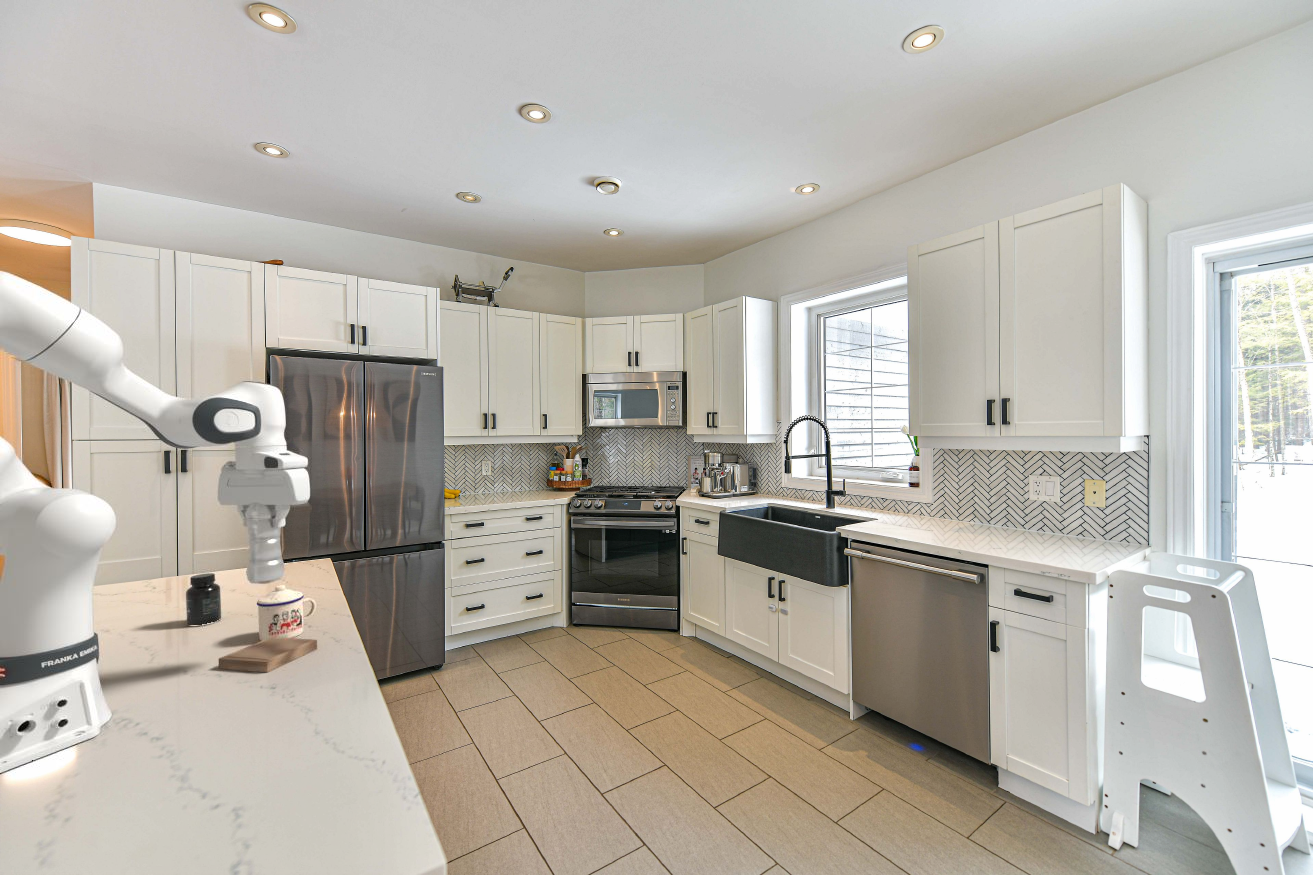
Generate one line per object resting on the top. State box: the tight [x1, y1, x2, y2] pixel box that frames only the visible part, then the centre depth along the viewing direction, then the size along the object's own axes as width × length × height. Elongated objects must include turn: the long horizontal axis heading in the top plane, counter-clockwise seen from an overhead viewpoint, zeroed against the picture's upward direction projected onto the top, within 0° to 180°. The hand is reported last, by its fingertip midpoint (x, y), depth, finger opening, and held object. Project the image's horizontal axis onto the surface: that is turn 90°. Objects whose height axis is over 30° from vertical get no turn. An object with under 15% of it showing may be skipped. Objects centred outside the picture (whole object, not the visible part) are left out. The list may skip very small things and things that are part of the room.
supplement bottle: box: [185, 572, 222, 626], centre depth 143 cm, size 7×7×12 cm
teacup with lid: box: [256, 584, 317, 641], centre depth 132 cm, size 12×9×12 cm
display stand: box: [218, 637, 318, 673], centre depth 118 cm, size 12×12×2 cm
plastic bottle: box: [245, 502, 286, 585], centre depth 117 cm, size 6×7×20 cm
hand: (264, 526), depth 117 cm, fingers closed on plastic bottle, 6 cm apart
